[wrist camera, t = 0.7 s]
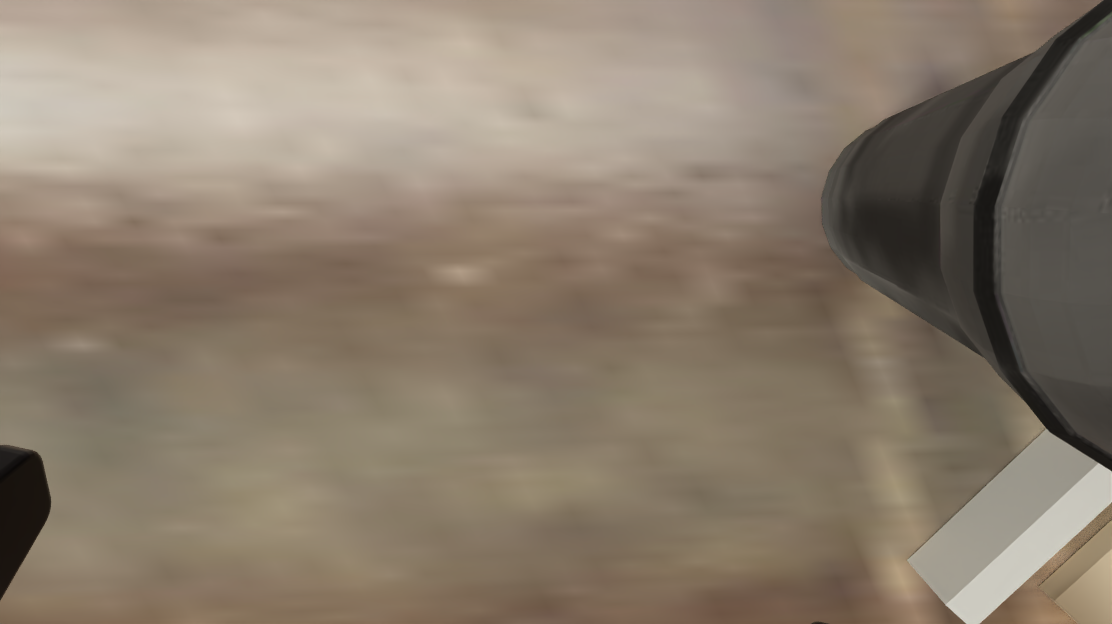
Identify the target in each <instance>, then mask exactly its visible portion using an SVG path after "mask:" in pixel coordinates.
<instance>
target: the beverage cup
mask: <svg viewBox="0 0 1112 624" xmlns="http://www.w3.org/2000/svg"><path fill="white" fill-rule="evenodd" d="M821 199H822V225H823V228H824V230H825V233H826V236H827V239H828V241H829V244H830V247H831V249H832V250H833V251H834V253H835V254H836V255H837V256H838V257H839V259H840V260H841V261H842V262H843V264H844V265H845V266H846V267H847V268H848V269H849V270H851V271H853V272H854V273H856V274H857V275H858V277H859V278H860V279H861V280H862V281H863V282H865V283H867V284H868V285H870V286H871V287H873V288H875V289H876V290H878V291H879V292H881V293H882V294H884V295H886V296H887V297H889V298H890V299H892V300H894V301H895V302H897V303H898V304H900V305H901V306H903V307H905V308H906V309H908V310H909V311H911V312H912V313H914V314H916V315H917V316H919V317H920V318H922V319H924V320H925V321H927V322H928V323H930V324H931V325H933V326H935V327H936V328H938V329H939V330H941V331H943V332H944V333H946V334H947V335H949V336H950V337H952V338H954V339H955V340H957V341H958V342H960V343H962V344H963V345H965V346H966V347H968V348H969V349H971V350H973V351H974V352H976V353H977V354H979V355H981V356H982V357H984V358H985V359H986V360H987V361H988V362H989V364H990V365H991V366H992V368H993V369H994V370H995V371H996V373H997V374H998V375H999V376H1000V377H1001V378H1002V379H1003V380H1004V381H1005V382H1006V383H1007V384H1008V385H1009V386H1010V387H1011V388H1012V389H1013V390H1014V391H1015V392H1016V393H1017V394H1018V395H1019V396H1020V397H1021V398H1022V399H1023V400H1024V401H1025V402H1026V403H1027V405H1028V406H1029V407H1030V408H1031V410H1032V411H1033V412H1034V413H1035V415H1036V416H1037V417H1038V418H1039V420H1040V421H1041V422H1042V423H1043V425H1044V426H1045V427H1046V429H1047V430H1048V431H1049V432H1050V433H1051V434H1053V435H1055V436H1056V437H1058V438H1059V439H1061V440H1063V441H1064V442H1066V443H1067V444H1069V445H1071V446H1072V447H1074V448H1075V449H1077V450H1078V451H1080V452H1082V453H1083V454H1085V455H1086V456H1088V457H1090V458H1091V459H1093V460H1094V461H1096V462H1098V463H1099V464H1101V465H1102V466H1104V467H1105V468H1107V469H1109V470H1110V471H1112V0H1103V1H1102V2H1101V3H1099V4H1098V5H1097V6H1096V7H1094V8H1093V9H1092V10H1090V11H1089V12H1087V13H1086V14H1084V15H1083V16H1082V17H1080V18H1079V19H1077V20H1076V21H1075V22H1073V23H1072V24H1070V25H1069V26H1067V27H1066V28H1065V29H1063V30H1062V31H1060V32H1059V33H1057V34H1056V35H1055V36H1054V37H1053V38H1051V39H1050V40H1049V41H1048V42H1046V43H1045V44H1044V45H1043V46H1041V47H1040V48H1039V49H1038V50H1037V51H1035V52H1034V53H1032V54H1029V55H1027V56H1025V57H1023V58H1020V59H1018V60H1016V61H1014V62H1012V63H1009V64H1007V65H1005V66H1003V67H1000V68H998V69H996V70H994V71H991V72H989V73H987V74H985V75H983V76H980V77H978V78H976V79H974V80H971V81H969V82H967V83H965V84H963V85H960V86H958V87H956V88H954V89H951V90H949V91H947V92H945V93H943V94H940V95H938V96H936V97H934V98H931V99H929V100H927V101H925V102H923V103H920V104H918V105H916V106H914V107H911V108H909V109H907V110H905V111H902V112H900V113H898V114H896V115H894V116H891V117H889V118H887V119H885V120H883V121H882V122H881V123H879V124H878V125H877V126H876V127H874V128H872V129H869V130H867V131H865V132H864V133H863V134H861V135H860V136H859V137H858V138H857V139H855V140H854V141H853V142H852V143H850V144H849V145H848V146H847V147H846V148H844V150H843V151H842V153H841V154H840V156H839V157H838V159H837V160H836V162H835V163H834V165H833V166H832V168H831V169H830V171H829V173H828V177H827V180H826V184H825V187H824V191H823V194H822V197H821Z"/></svg>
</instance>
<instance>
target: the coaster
mask: <svg viewBox="0 0 1112 624" xmlns="http://www.w3.org/2000/svg"><path fill="white" fill-rule="evenodd" d="M1039 588H1040V589H1041V590H1042V591H1043V592H1044V593H1045V594H1046V595H1048V596H1049V597H1050V598H1051V599H1052V600H1053V601H1054V602H1055V603H1056V604H1057V605H1058V606H1059V607H1061V608H1062V609H1063V610H1064V611H1065V612H1066V613H1067V614H1068V615H1069V616H1070V617H1071V618H1072V619H1074V620H1075V621H1076V622H1077V623H1078V624H1112V520H1111V521H1110V522H1109V523H1108V524H1107V525H1106V526H1104V527H1103V528H1102V529H1101V530H1100V531H1099V532H1098V533H1097V534H1096V535H1095V536H1093V537H1092V538H1091V539H1090V540H1089V541H1088V542H1087V543H1086V544H1085V545H1084V546H1083V547H1081V548H1080V549H1079V550H1078V551H1077V552H1076V553H1075V554H1074V555H1073V556H1072V557H1070V558H1069V559H1068V560H1067V561H1066V562H1065V563H1064V564H1063V565H1062V566H1061V567H1060V568H1058V569H1057V570H1056V571H1055V572H1054V573H1053V574H1052V575H1051V576H1050V577H1049V578H1047V579H1046V580H1045V581H1044V582H1043V583H1042V584H1041V585H1040V586H1039Z"/></svg>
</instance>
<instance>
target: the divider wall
mask: <svg viewBox="0 0 1112 624" xmlns="http://www.w3.org/2000/svg"><path fill="white" fill-rule="evenodd" d="M1111 502H1112V471H1110V470H1109V469H1107V468H1105V467H1104V466H1102V465H1101V464H1099V463H1098V462H1096V461H1094V460H1093V459H1091V458H1090V457H1088V456H1086V455H1085V454H1083V453H1082V452H1080V451H1078V450H1077V449H1075V448H1074V447H1072V446H1071V445H1069V444H1067V443H1066V442H1064V441H1063V440H1061V439H1059V438H1058V437H1056V436H1055V435H1053V434H1051V433H1050V432H1049V431H1048V430H1047V429H1045V430H1044V431H1043V432H1042V433H1041V434H1040V435H1039V436H1038V437H1037V438H1036V439H1035V440H1034V441H1033V442H1032V443H1031V444H1030V445H1028V446H1027V447H1026V448H1025V449H1024V450H1023V451H1022V452H1021V453H1020V454H1019V455H1018V456H1017V457H1016V458H1015V459H1014V460H1013V461H1012V462H1011V463H1009V464H1008V465H1007V466H1006V467H1005V468H1004V469H1003V470H1002V471H1001V472H1000V473H999V474H998V475H997V476H996V477H995V478H994V479H993V480H991V481H990V482H989V483H988V484H987V485H986V486H985V487H984V488H983V489H982V490H981V491H980V492H979V493H978V494H977V495H976V496H975V497H973V498H972V499H971V500H970V501H969V502H968V503H967V504H966V505H965V506H964V507H963V508H962V509H961V510H960V511H959V512H958V513H957V514H956V515H954V516H953V517H952V518H951V519H950V520H949V521H948V522H947V523H946V524H945V525H944V526H943V527H942V528H941V529H940V530H939V531H938V532H936V533H935V534H934V535H933V536H932V537H931V538H930V539H929V540H928V541H927V542H926V543H925V544H924V545H923V546H922V547H921V548H920V549H919V550H917V551H916V552H915V553H914V554H913V555H912V556H911V557H910V558H909V559H908V560H907V561H908V562H909V563H910V565H911V566H912V567H913V568H914V569H915V570H916V571H917V573H918V574H919V575H920V576H921V577H922V578H923V579H924V581H925V582H926V583H927V584H928V585H929V586H930V587H931V589H932V590H933V591H934V592H935V593H936V594H937V595H938V597H939V598H940V599H941V600H942V601H943V602H944V604H945V605H946V606H947V607H949V608H950V609H951V610H952V611H953V612H954V613H955V614H956V615H957V616H958V617H960V618H961V619H962V620H963V621H964V622H965V623H966V624H979V623H981V622H982V621H983V620H984V619H985V618H986V617H987V616H988V615H989V614H990V613H991V612H993V611H994V610H995V609H996V608H997V607H998V606H999V605H1000V604H1001V603H1002V602H1003V601H1005V600H1006V599H1007V598H1008V597H1009V596H1010V595H1011V594H1012V593H1013V592H1014V591H1015V590H1017V589H1018V588H1019V587H1020V586H1021V585H1022V584H1023V583H1024V582H1025V581H1026V580H1027V579H1029V578H1030V577H1031V576H1032V575H1033V574H1034V573H1035V572H1036V571H1037V570H1038V569H1039V568H1041V567H1042V566H1043V565H1044V564H1045V563H1046V562H1047V561H1048V560H1049V559H1050V558H1051V557H1053V556H1054V555H1055V554H1056V553H1057V552H1058V551H1059V550H1060V549H1061V548H1062V547H1063V546H1065V545H1066V544H1067V543H1068V542H1069V541H1070V540H1071V539H1072V538H1073V537H1074V536H1075V535H1077V534H1078V533H1079V532H1080V531H1081V530H1082V529H1083V528H1084V527H1085V526H1086V525H1087V524H1089V523H1090V522H1091V521H1092V520H1093V519H1094V518H1095V517H1096V516H1097V515H1098V514H1099V513H1101V512H1102V511H1103V510H1104V509H1105V508H1106V507H1107V506H1108V505H1109V504H1110V503H1111Z"/></svg>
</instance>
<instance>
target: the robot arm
mask: <svg viewBox="0 0 1112 624" xmlns="http://www.w3.org/2000/svg"><path fill="white" fill-rule="evenodd" d="M50 509H51V496H50V492H49V487H48V483H47V478H46V474H45V469H44V465H43V461H42V458H41V456H40V455H39V454H38V453H37V452H35V451H33V450H29V449H24V448H19V447H15V446H10V445H0V600H1V599H2V597H3V595H4V593H5V592H6V590H7V588H8V586H9V585H10V583H11V581H12V580H13V578H14V576H15V574H16V573H17V571H18V569H19V567H20V566H21V564H22V562H23V561H24V559H25V557H26V555H27V554H28V552H29V550H30V548H31V547H32V545H33V543H34V542H35V540H36V538H37V536H38V535H39V533H40V531H41V529H42V528H43V526H44V524H45V522H46V520H47V518H48V516H49V513H50ZM812 624H828V623H823V622H813V623H812Z"/></svg>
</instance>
